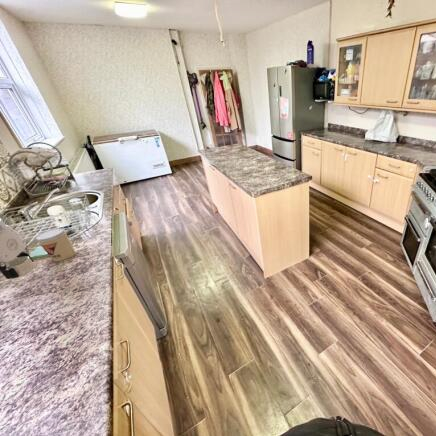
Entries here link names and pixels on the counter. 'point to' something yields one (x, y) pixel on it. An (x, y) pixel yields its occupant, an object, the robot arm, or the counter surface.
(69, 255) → the coffee cup
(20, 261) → the bowl
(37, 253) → the light green flat piece
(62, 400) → the counter surface
